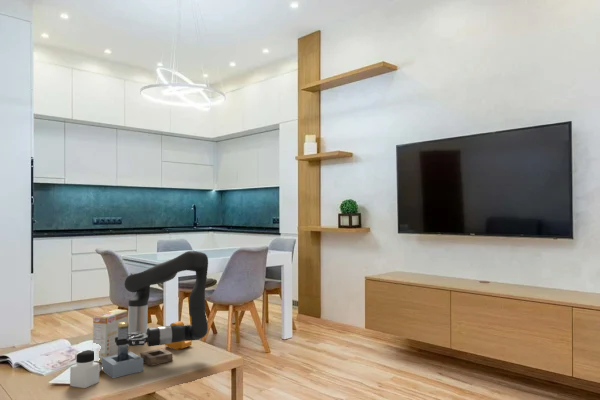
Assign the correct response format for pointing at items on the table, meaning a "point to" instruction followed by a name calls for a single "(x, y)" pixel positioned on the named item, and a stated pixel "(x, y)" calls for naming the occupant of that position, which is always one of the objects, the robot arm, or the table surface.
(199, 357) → the table surface
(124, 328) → the silver metal cylinder
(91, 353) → the medicine bottle
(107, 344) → the coffeecake box
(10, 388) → the table surface
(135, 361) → the block
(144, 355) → the socket block
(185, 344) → the bracket
